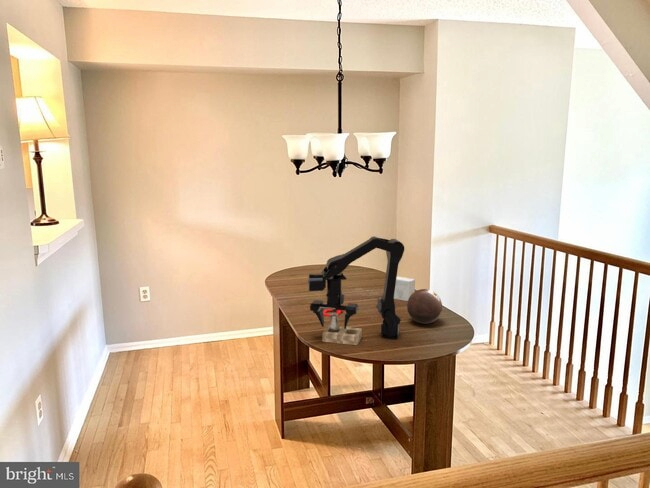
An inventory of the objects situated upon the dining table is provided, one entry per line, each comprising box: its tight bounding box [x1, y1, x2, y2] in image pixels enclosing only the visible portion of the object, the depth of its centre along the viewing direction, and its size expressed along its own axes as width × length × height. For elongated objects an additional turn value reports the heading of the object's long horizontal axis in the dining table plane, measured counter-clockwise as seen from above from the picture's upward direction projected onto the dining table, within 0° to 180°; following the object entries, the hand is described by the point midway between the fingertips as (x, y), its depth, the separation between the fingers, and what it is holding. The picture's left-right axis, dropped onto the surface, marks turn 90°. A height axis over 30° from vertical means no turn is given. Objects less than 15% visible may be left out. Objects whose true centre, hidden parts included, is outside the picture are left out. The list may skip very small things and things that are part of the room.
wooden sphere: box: [406, 288, 443, 325], centre depth 210 cm, size 15×15×15 cm
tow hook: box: [323, 307, 344, 318], centre depth 222 cm, size 8×13×9 cm
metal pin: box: [329, 312, 339, 333], centre depth 193 cm, size 3×3×10 cm
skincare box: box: [394, 275, 416, 302], centre depth 245 cm, size 10×6×10 cm, turn 54°
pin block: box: [322, 324, 363, 346], centre depth 192 cm, size 14×9×4 cm, turn 74°
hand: (334, 327), depth 193 cm, fingers open, 9 cm apart
